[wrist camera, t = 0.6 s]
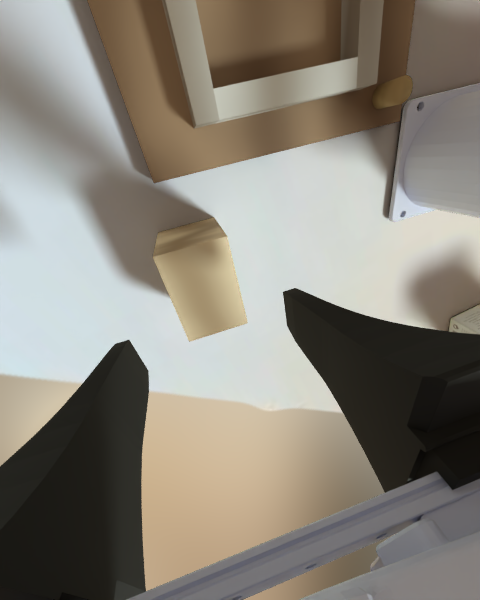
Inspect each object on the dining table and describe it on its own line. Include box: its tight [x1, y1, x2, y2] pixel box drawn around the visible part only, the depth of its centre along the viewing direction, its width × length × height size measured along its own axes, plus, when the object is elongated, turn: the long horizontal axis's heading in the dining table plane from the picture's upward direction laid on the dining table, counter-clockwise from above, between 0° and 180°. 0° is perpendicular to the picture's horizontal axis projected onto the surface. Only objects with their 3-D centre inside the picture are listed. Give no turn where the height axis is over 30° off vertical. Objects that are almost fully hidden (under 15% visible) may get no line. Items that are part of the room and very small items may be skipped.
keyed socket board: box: [87, 0, 415, 183], centre depth 11 cm, size 16×12×3 cm
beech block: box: [153, 217, 248, 342], centre depth 16 cm, size 4×6×5 cm, turn 12°
